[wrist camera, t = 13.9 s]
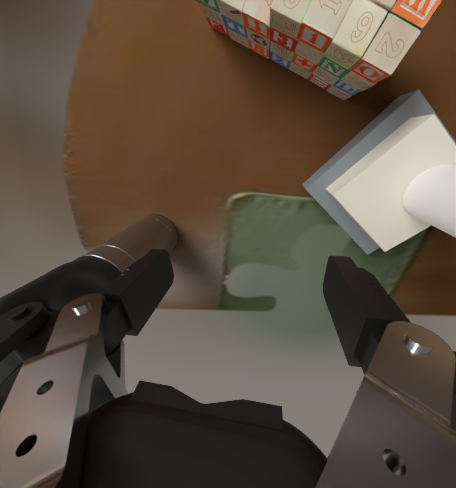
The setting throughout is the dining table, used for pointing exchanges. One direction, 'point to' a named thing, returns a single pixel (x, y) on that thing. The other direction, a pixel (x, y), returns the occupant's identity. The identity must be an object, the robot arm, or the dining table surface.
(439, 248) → the dining table surface
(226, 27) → the stack of blocks
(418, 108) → the tower base
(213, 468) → the robot arm
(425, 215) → the can
